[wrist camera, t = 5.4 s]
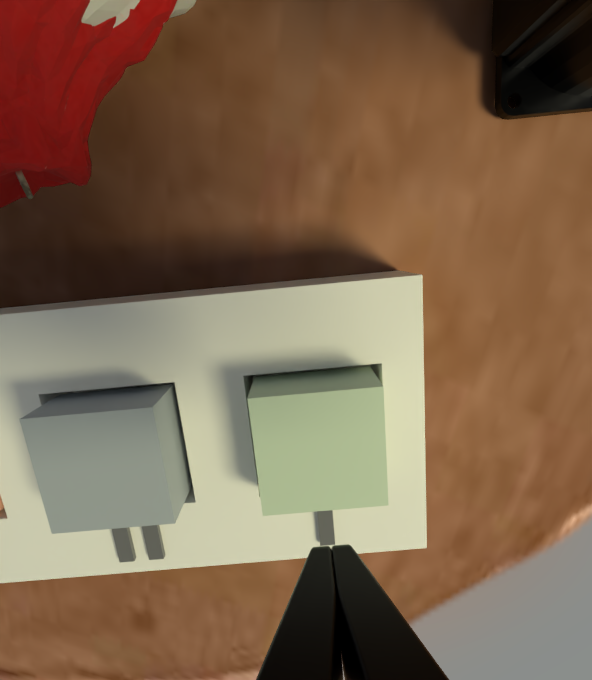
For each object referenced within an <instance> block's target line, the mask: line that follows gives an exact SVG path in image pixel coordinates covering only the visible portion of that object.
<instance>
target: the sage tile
mask: <svg viewBox="0 0 592 680" xmlns="http://www.w3.org/2000/svg"><path fill="white" fill-rule="evenodd" d="M247 399H248V407H249V415H250V422H251V430H252V437H253V445H254V453H255V460H256V468H257V475H258V483H259V491H260V498H261V506H262V513H263V516H269V515H281V514H293V513H305V512H317V511H328V510H340V509H352V508H364V507H376V506H387V505H388V481H387V458H386V434H385V411H384V387H383V385H382V384H381V382H380V381H379V379H378V378H377V376H376V374H375V373H374V371H373V370H372V368H371V367H370V366H366V367H355V368H344V369H333V370H322V371H311V372H300V373H289V374H278V375H267V376H256V377H254V380H253V383H252V386H251V389H250V392H249V395H248V398H247Z"/></svg>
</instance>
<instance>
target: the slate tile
mask: <svg viewBox="0 0 592 680" xmlns="http://www.w3.org/2000/svg"><path fill="white" fill-rule="evenodd" d="M19 420H20V424H21V427H22V431H23V434H24V438H25V441H26V445H27V448H28V452H29V455H30V459H31V462H32V466H33V470H34V473H35V477H36V480H37V484H38V487H39V491H40V494H41V498H42V501H43V505H44V508H45V512H46V515H47V519H48V522H49V526H50V529H51V533H52V534H57V533H69V532H81V531H92V530H104V529H116V528H128V527H140V526H151V525H163V524H175V523H176V520H177V518H178V516H179V514H180V511H181V509H182V507H183V504H184V502H185V500H186V498H187V495H188V493H189V491H190V488H191V486H192V484H191V478H190V473H189V467H188V462H187V456H186V450H185V445H184V439H183V434H182V428H181V422H180V417H179V411H178V405H177V400H176V394H175V389H174V384H168V385H157V386H146V387H135V388H124V389H113V390H102V391H91V392H80V393H69V394H60V395H58V396H57V397H55V398H53V399H52V400H50V401H48V402H47V403H45V404H43V405H42V406H40V407H39V408H37V409H35V410H34V411H32V412H30V413H29V414H27V415H25V416H24V417H22V418H20V419H19Z"/></svg>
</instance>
